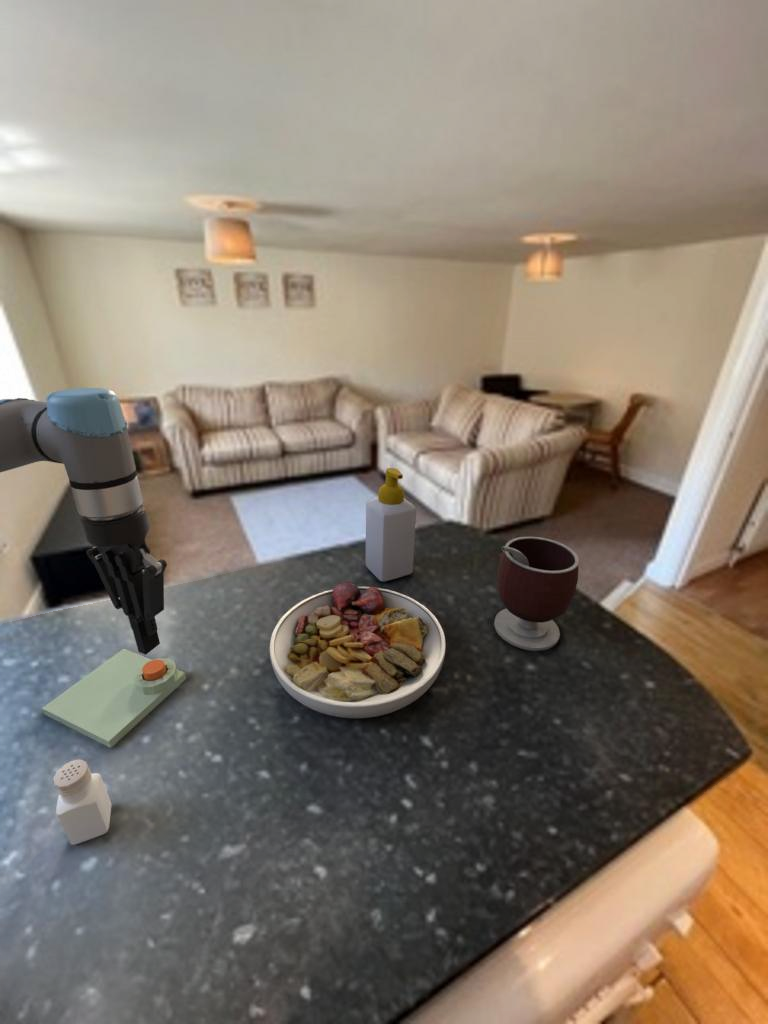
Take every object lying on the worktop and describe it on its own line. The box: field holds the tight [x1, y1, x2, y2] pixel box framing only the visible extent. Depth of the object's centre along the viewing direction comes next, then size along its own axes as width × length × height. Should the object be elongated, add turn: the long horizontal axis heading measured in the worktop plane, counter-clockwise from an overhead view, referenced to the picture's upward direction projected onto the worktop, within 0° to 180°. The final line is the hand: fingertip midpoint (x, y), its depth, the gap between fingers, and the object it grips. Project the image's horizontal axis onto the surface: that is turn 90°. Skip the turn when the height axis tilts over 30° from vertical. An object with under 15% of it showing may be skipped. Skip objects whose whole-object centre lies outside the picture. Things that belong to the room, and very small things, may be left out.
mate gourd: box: [493, 536, 580, 652], centre depth 83 cm, size 16×14×20 cm
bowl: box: [269, 581, 446, 719], centre depth 78 cm, size 30×30×8 cm
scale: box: [41, 648, 187, 749], centre depth 70 cm, size 14×14×3 cm
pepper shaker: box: [53, 759, 112, 846], centre depth 51 cm, size 4×4×10 cm
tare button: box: [142, 658, 166, 681], centre depth 71 cm, size 3×3×2 cm
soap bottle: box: [365, 467, 417, 583], centre depth 101 cm, size 9×9×25 cm
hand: (149, 647), depth 69 cm, fingers closed
